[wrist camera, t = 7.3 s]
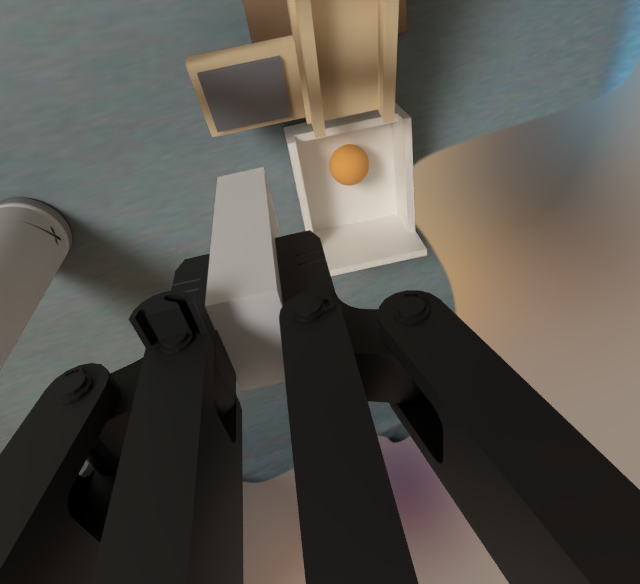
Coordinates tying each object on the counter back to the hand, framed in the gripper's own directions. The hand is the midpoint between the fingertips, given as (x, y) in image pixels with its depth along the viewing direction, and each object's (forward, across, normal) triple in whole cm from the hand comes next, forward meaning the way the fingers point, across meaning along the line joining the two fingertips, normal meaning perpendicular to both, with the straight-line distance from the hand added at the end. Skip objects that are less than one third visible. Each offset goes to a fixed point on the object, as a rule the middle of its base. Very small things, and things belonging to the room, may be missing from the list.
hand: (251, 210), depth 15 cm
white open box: (+23, +6, -10) cm, 25 cm away
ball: (+21, +6, -8) cm, 23 cm away
